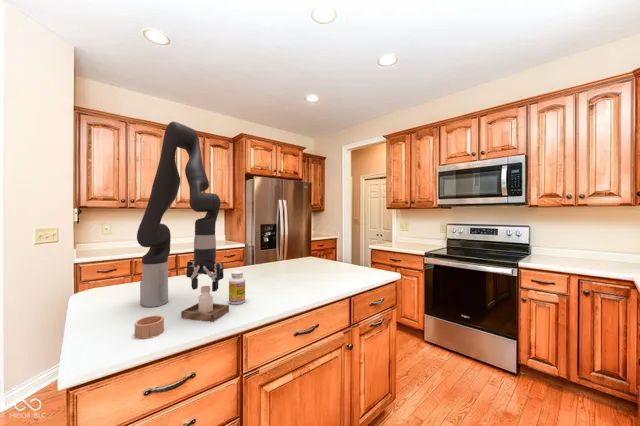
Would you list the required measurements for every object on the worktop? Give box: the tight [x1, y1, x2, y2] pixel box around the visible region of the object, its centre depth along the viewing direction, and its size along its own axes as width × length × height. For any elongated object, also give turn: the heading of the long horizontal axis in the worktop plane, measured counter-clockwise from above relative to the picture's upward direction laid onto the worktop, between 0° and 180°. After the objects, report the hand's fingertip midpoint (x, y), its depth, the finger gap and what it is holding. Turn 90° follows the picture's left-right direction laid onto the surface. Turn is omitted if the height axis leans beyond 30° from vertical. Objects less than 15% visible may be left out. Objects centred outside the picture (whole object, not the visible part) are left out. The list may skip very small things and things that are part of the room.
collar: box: [134, 314, 165, 340], centre depth 86 cm, size 8×8×4 cm
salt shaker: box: [198, 285, 214, 313], centre depth 101 cm, size 4×4×10 cm
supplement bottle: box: [228, 270, 246, 305], centre depth 114 cm, size 7×7×13 cm
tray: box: [180, 302, 230, 323], centre depth 101 cm, size 13×10×2 cm
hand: (204, 290), depth 100 cm, fingers open, 8 cm apart
